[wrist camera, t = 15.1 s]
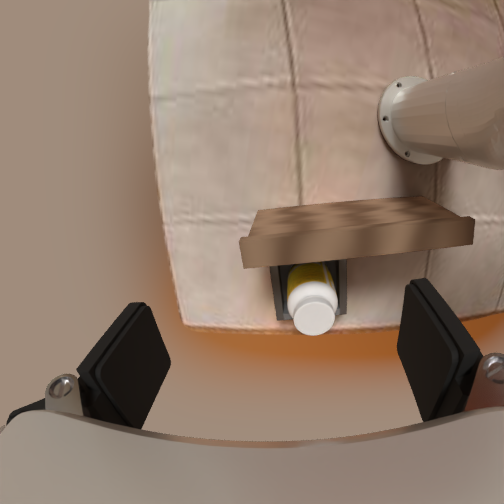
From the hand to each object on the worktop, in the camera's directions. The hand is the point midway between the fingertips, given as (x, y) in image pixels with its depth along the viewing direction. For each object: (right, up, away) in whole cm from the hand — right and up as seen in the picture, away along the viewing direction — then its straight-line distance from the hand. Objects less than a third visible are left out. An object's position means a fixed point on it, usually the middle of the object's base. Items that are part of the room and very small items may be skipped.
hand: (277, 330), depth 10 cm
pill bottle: (+7, -1, +31) cm, 32 cm away
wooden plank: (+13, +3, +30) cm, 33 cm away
